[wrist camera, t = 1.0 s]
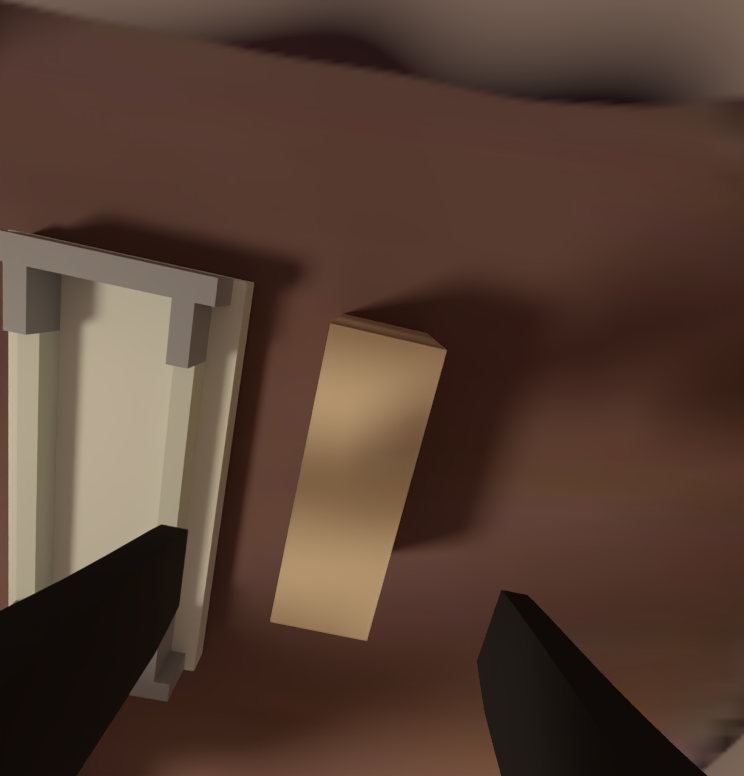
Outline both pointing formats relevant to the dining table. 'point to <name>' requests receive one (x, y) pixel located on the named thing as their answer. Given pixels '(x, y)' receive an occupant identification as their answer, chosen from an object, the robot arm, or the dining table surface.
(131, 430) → the cream rectangular tray
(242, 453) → the dining table surface
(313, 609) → the tan wooden block
